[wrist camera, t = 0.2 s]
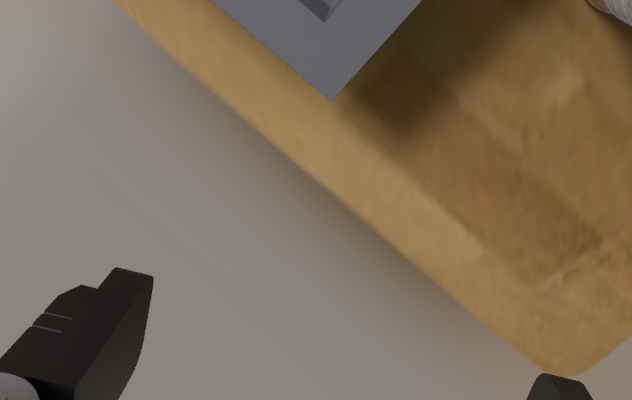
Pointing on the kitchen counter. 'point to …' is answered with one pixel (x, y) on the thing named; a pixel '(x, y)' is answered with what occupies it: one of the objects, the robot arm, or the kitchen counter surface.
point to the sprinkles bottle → (615, 8)
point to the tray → (321, 33)
